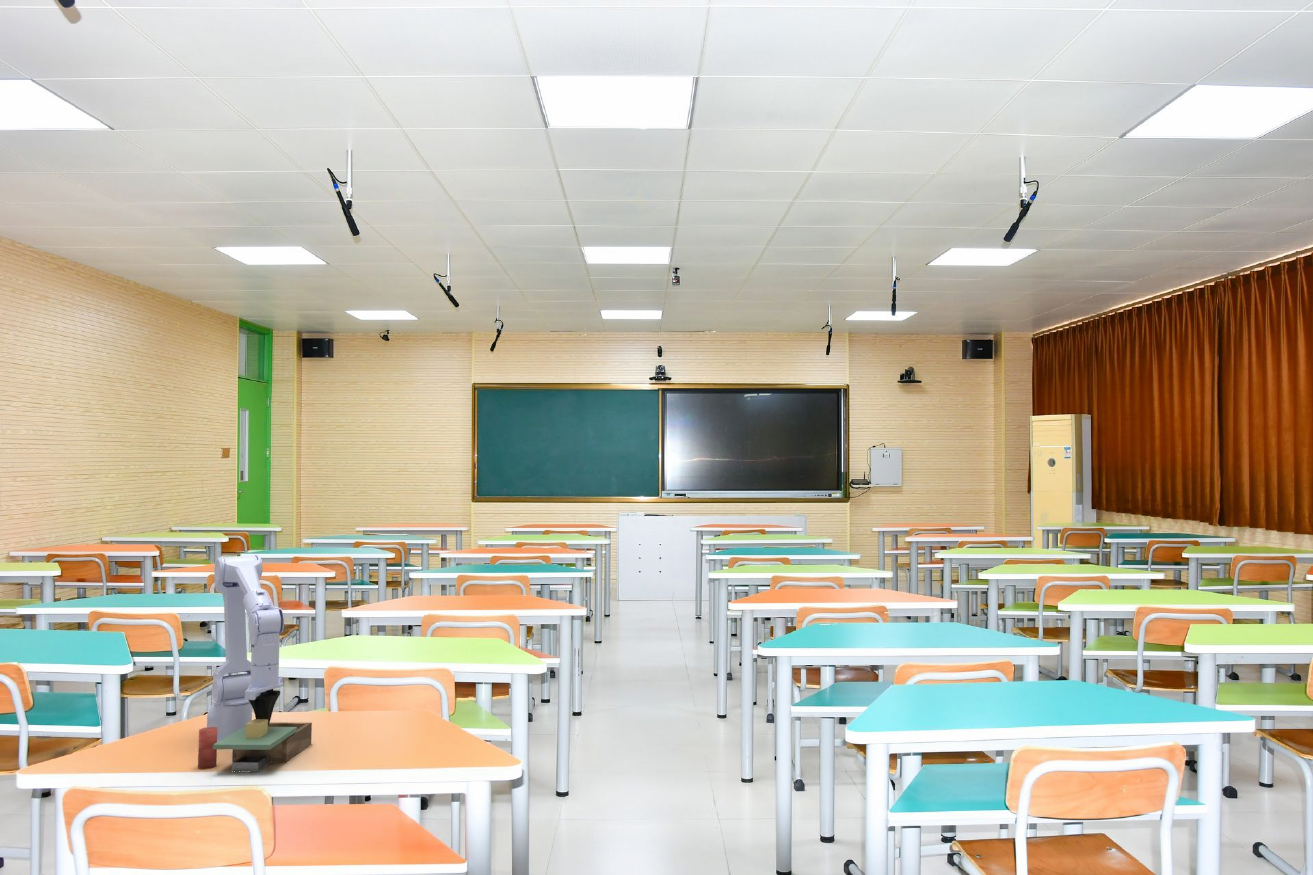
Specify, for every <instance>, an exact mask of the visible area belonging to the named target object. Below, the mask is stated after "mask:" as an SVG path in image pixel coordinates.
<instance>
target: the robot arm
mask: <svg viewBox="0 0 1313 875" xmlns="http://www.w3.org/2000/svg"><path fill="white" fill-rule="evenodd" d="M262 559H263V558H261V557H260V555H259V554H256V555H242V556H241V555H240V556H237V555H236V556H218V557H217V558H216V559H215V564H214V568H213V569H214V570H213V572H214V574H213V575H214V578H213V579H214V588H215V591H216V592H217V593H220V594H222V599H223V614H224V617H223V618H224V644H225V645H224V646H225V647H224V648H225V661H224V662H223V664H221V665H219V666H218V667H217V668H216V669H215V670H214V672H213V676H212V677H213V678H212V679H213V680H212V686H211V693H212V699H213V701H214V702H213V703H212V704H211V705H210V706H209V708H208V711H207V715H206V727H217V728H218V730H217V742H219V741H220V740H222V739H224V738H226V737H227V736H229V735H231V734H233V733H234V732H236V731H238V730H239V729H241V728H243V727H246V724H247V723H249V722H250V721H252V720H253V713H254V717H255V718H254V719H268V725H269V723H270V722H271V720H272V715H273V711H274V708H275V705H276V703H277V700H278V699H279V697H280V696H281V690H278V688H282V687H284V684H285V683H284V682H283V676H279V671H280V670H279V667H280V636H281V634H282V633H283V631H284V628H285V616H284V612H283V609H282V608H281V607H278V606H275V604H274V603H273V600H272V597H271V596H270V594H269V591H268V590H266V589H263V588H262V586H261V581H260V580H261V577H262V576H263V570H264V567H263V565H264V564H263V560H262ZM246 614H247V617H248V622H246V621H247V620H246V619H247V618H246ZM247 624H248V632H249V644H251V651H250V652H251V657H250V659H251V660H249V659H248V651H247V650H248V649H247V648H248V647H247V646H248V645H247ZM230 674H231V675H230ZM274 689H275V690H274ZM276 689H277V690H276Z"/></svg>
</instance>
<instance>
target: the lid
mask: <svg viewBox="0 0 1313 875" xmlns="http://www.w3.org/2000/svg"><path fill="white" fill-rule="evenodd" d="M295 732H297V727H268V719H256V718H254V719H252V721H250V722H249V723H247V724H246V727H243V728H241V729H239V730H238V731H236V732H234V733H233V734H231V735H229V736H227V737H226V738H224V739H222V740H220V741H219V742H217V743H215V744H213V749H217V750H232V751H233V750H270V749H271V748H273V747H274V746H276V745H277V744H279V743H280V742H282V741H283V740H285V739H286V738H288V737H289V736H291V735H292V734H294V733H295Z"/></svg>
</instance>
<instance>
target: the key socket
mask: <svg viewBox="0 0 1313 875" xmlns="http://www.w3.org/2000/svg"><path fill="white" fill-rule="evenodd" d="M270 764H271V762H270V755H243V756H242V757H240V758H238V759H237V760H235V761H234V762H232V761H231V772H232V771H233V772H232V773H242V772H241V771H250V772H249V773H259V772H260V771H262V770H264V768H266V767H267V766H269V765H270ZM234 771H235V772H234ZM239 771H240V772H239Z"/></svg>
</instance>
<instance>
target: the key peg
mask: <svg viewBox="0 0 1313 875" xmlns="http://www.w3.org/2000/svg"><path fill="white" fill-rule="evenodd" d="M217 730H218V728H217V727H207V726H206V727H202V728H199V729H198V749H197V751H198V755H197V756H198V757H197V769H199V770H208V769H209V770H210V769H214V768H215V767H217V758H218V757H217V756H218V754H217V753H218V749H213V744H215V743H217Z"/></svg>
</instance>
